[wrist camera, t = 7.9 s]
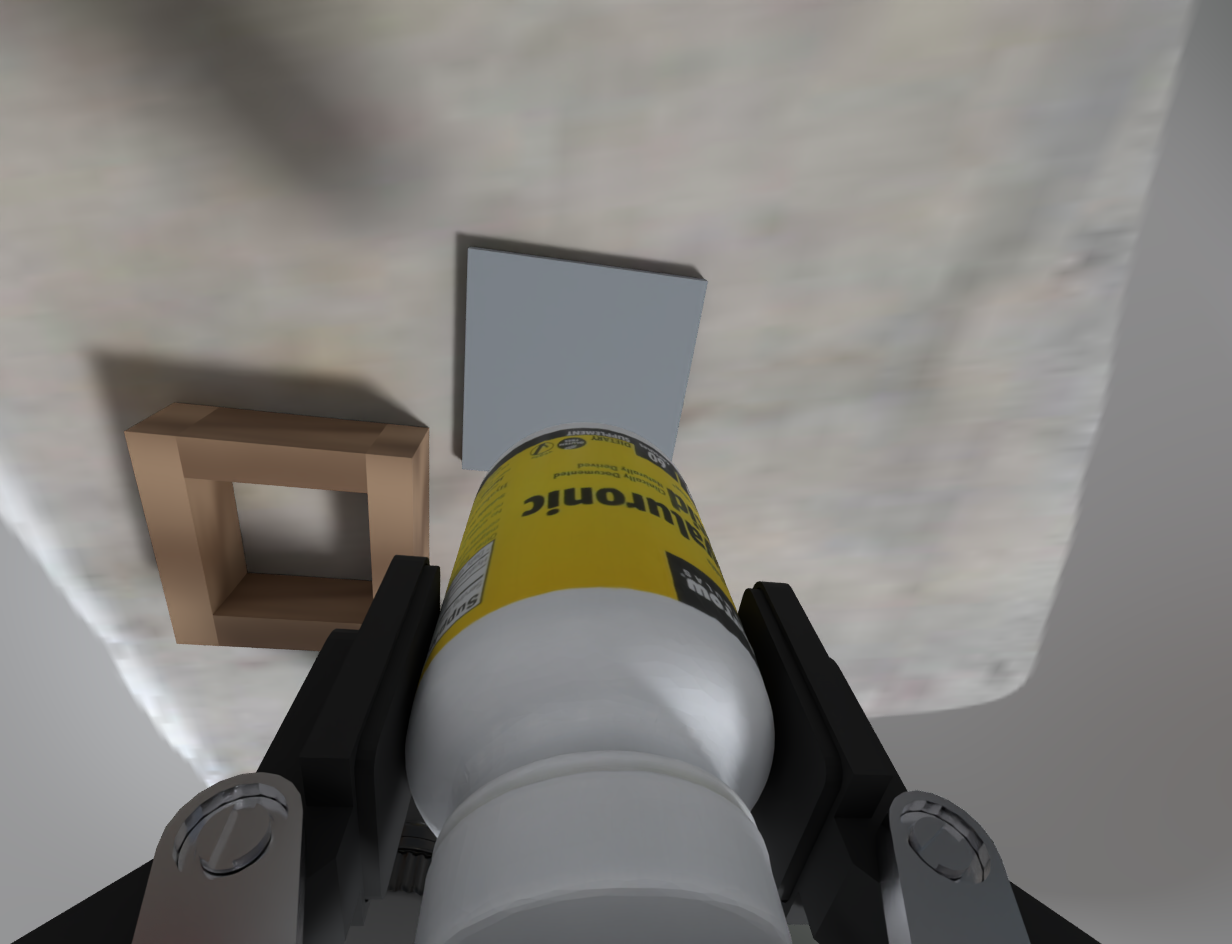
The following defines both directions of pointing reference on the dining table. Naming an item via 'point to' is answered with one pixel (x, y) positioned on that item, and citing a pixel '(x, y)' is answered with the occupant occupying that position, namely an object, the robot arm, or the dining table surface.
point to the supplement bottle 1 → (400, 888)
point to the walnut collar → (209, 527)
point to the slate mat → (573, 349)
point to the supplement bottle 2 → (591, 714)
